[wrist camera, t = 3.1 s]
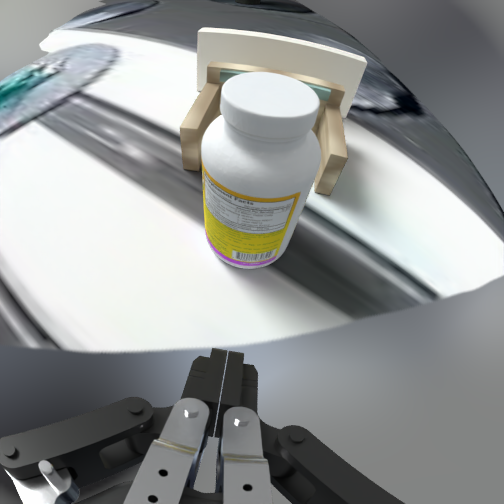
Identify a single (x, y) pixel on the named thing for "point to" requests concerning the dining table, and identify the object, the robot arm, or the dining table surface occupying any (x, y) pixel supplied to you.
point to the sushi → (248, 1)
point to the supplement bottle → (258, 166)
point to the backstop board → (280, 58)
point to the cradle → (324, 129)
